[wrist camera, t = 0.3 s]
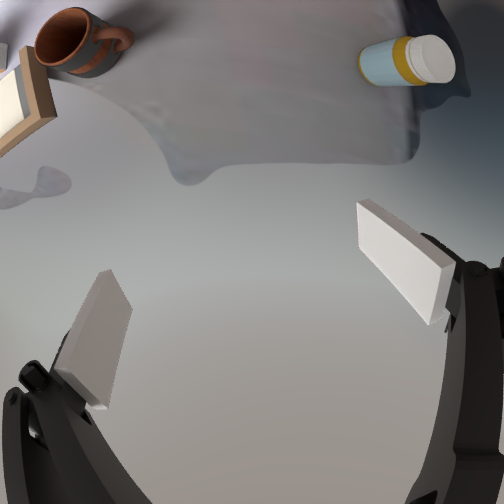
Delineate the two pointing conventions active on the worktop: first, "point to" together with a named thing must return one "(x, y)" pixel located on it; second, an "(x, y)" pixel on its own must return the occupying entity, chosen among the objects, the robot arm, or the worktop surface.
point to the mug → (80, 43)
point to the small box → (3, 56)
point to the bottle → (407, 62)
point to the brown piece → (24, 101)
